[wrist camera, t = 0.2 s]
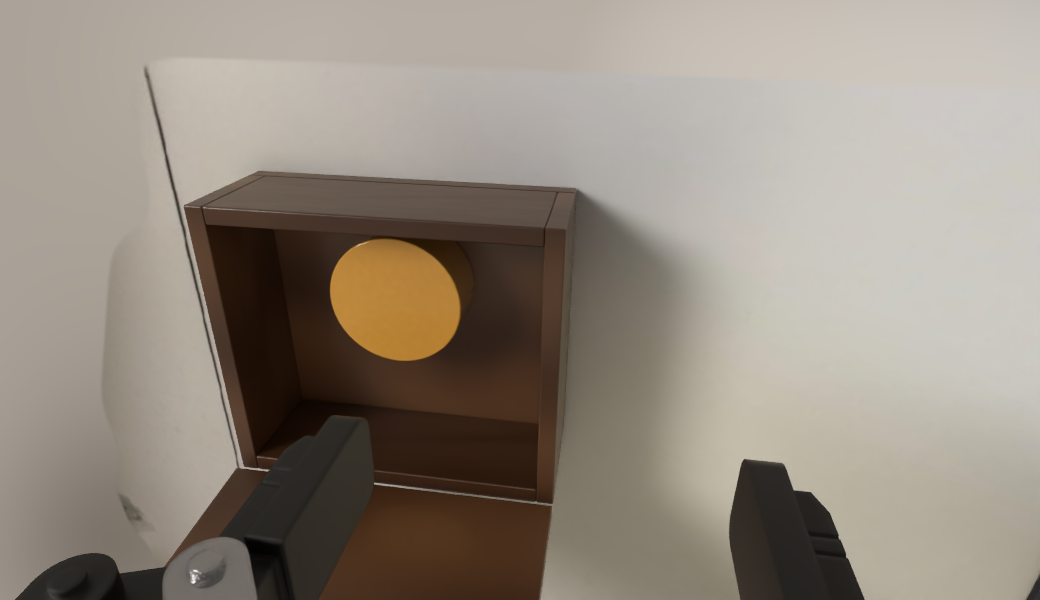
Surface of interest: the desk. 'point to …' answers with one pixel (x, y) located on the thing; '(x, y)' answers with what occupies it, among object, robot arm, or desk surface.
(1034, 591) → the mat
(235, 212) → the wooden box
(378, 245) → the golden round puck
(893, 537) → the desk surface
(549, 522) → the lid
